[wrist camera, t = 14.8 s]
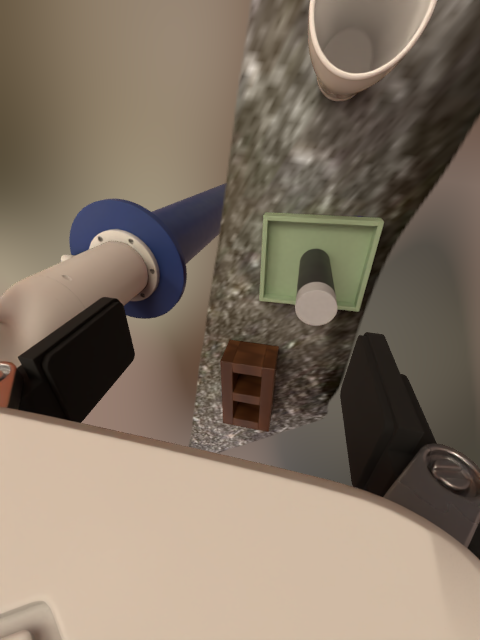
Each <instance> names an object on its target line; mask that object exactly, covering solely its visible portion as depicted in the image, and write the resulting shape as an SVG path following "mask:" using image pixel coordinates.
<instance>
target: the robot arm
mask: <svg viewBox="0 0 480 640" xmlns="http://www.w3.org/2000/svg"><path fill="white" fill-rule="evenodd" d="M159 277H160V273H159V267H158V264H157V261H156V259H155V257H154V254H153V253H152V252H151V250H150V249H149V247H148V246H147V245H146V244H145V243H144V242H143V241H142V240H141V239H139V238H138V237H137V236H135V235H133V234H132V233H129V232H127V231H124V230H119V229H110V230H107V231H104V232H101V233H99V234H98V235H97V236H95V237H94V239H93V240H92V242H91V244H90V247H89V250H87V251H85V252H83V253H80V254H78V255H76V256H74V255H63V256H62V257H61V262H60V263H58V264H56V265H54V266H51V267H49V268H47V269H45V270H43V271H40V272H38V273H36V274H34V275H31V276H29V277H27V278H25V279H23V280H20V281H19V282H17V283H15V284H13V285H12V286H11V287H10V288H8V289H7V290H6V291H5V293H4V294H3V295H2V296H1V298H0V640H480V469H479V467H478V466H477V465H476V464H475V463H474V462H473V461H472V460H470V459H469V458H468V457H467V456H465V455H464V454H462V453H461V452H459V451H457V450H455V449H453V448H451V447H448V446H445V445H443V444H437V443H436V441H435V439H434V437H433V434H432V432H431V430H430V428H429V425H428V423H427V421H426V418H425V416H424V414H423V411H422V409H421V407H420V405H419V402H418V400H417V398H416V396H415V394H414V391H413V389H412V387H411V384H410V382H409V380H408V378H407V377H406V376H405V375H403V374H400V372H399V370H398V368H397V366H396V363H395V360H394V358H393V355H392V353H391V351H390V348H389V346H388V343H387V341H386V339H385V336H384V335H382V334H375V333H368V332H366V333H365V334H364V336H361V335H359V336H358V338H357V341H356V344H355V347H354V351H353V354H352V357H351V360H350V363H349V366H348V369H347V372H346V375H345V378H344V381H343V384H342V388H341V395H340V397H341V405H342V413H343V420H344V427H345V435H346V443H347V450H348V458H349V465H350V473H351V481H352V485H353V487H352V486H348V485H344V484H341V483H338V482H334V481H331V480H326V479H323V478H318V477H315V476H310V475H306V474H302V473H298V472H294V471H290V470H286V469H282V468H278V467H274V466H269V465H265V464H261V463H256V462H252V461H247V460H243V459H239V458H235V457H230V456H226V455H221V454H217V453H213V452H209V451H204V450H200V449H195V448H191V447H186V446H182V445H177V444H173V443H169V442H164V441H160V440H155V439H151V438H146V437H142V436H137V435H133V434H128V433H124V432H119V431H115V430H111V429H106V428H101V427H96V426H92V425H88V424H83V423H81V422H82V421H83V420H84V419H85V417H86V416H87V415H88V414H89V413H90V412H91V410H92V409H93V408H94V407H95V406H96V404H97V403H98V402H99V401H100V400H101V398H102V397H103V396H104V395H105V393H106V392H107V391H108V390H109V389H110V388H111V386H112V385H113V384H114V383H115V382H116V380H117V379H118V378H119V377H120V376H121V374H122V373H123V372H124V371H125V370H126V368H127V367H128V366H129V365H130V364H131V362H132V361H133V359H134V356H135V353H134V348H133V344H132V340H131V336H130V331H129V327H128V323H127V318H126V314H125V310H124V305H125V304H126V303H128V302H129V301H141V300H144V299H146V298H148V297H149V296H150V295H151V294H152V293H153V292H154V291H155V290H156V288H157V287H158V283H159ZM355 487H356V488H355Z"/></svg>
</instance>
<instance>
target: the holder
mask: <svg viewBox="0 0 480 640" xmlns="http://www.w3.org/2000/svg"><path fill="white" fill-rule="evenodd" d="M278 348H279V347H278V346H271V345H265V344H257V343H250V342H243V341H235V340H229V343H228V345H227V347H226V350H225V352H224V354H223V357H222V359H221V361H220V362H221V384H222V406H223V423H227V424H232V425H236V426H241V427H246V428H252V429H257V430H262V431H267V432H269V427H270V420H271V413H272V407H273V397H274V387H275V378H276V368H277V358H278Z"/></svg>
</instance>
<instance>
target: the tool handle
mask: <svg viewBox="0 0 480 640" xmlns="http://www.w3.org/2000/svg"><path fill="white" fill-rule="evenodd" d="M295 311H296V314H297V316H298V318H299V319H300V320H301V321H303V322H304V323H306V324H309V325H313V326H319V325H323V324H326V323H328V322H329V321H331V320H332V319H333V318H334V316H335V315H336V313H337V300H336V294H335V288H334V282H333V276H332V270H331V264H330V259H329V256H328V254H327V253H326V252H325V251H323V250H321V249H310V250H308V251H306V252H305V253H304V254H303V255H302V257H301V259H300V265H299V275H298V284H297V294H296V304H295Z"/></svg>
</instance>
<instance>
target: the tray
mask: <svg viewBox="0 0 480 640" xmlns="http://www.w3.org/2000/svg"><path fill="white" fill-rule="evenodd" d="M383 224H384V221H383V220H382V219H381V218H371V217H350V216H330V215H309V214H288V213H267V212H266V213H265V214H264V216H263V234H262V255H261V275H260V296H259V301H266V302H275V303H284V304H293V305H295V304H296V294H297V284H298V275H299V265H300V259H301V257H302V255H303V254H304V253H305V252H306V251H308V250H310V249H321V250H323V251H325V252H326V253H327V254H328V256H329V259H330V264H331V270H332V276H333V282H334V288H335V294H336V300H337V309H339V310H349V311H358V312H359V310H360V306H361V303H362V299H363V295H364V292H365V288H366V285H367V281H368V278H369V274H370V271H371V267H372V263H373V260H374V256H375V253H376V249H377V246H378V242H379V238H380V235H381V231H382V228H383Z"/></svg>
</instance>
